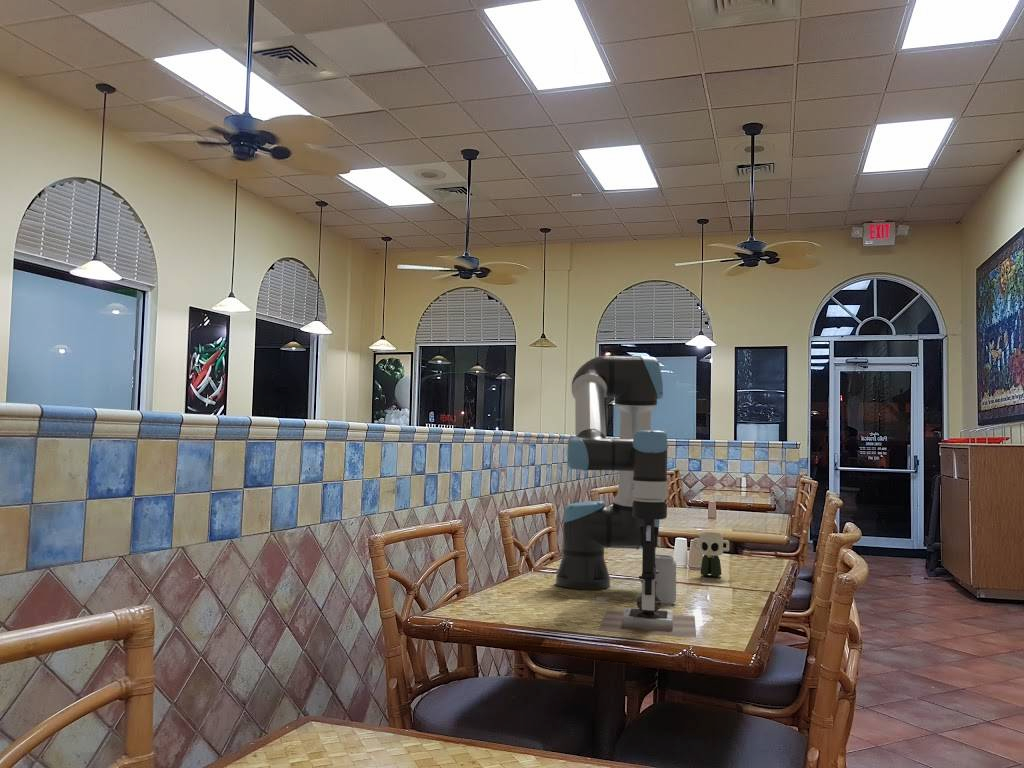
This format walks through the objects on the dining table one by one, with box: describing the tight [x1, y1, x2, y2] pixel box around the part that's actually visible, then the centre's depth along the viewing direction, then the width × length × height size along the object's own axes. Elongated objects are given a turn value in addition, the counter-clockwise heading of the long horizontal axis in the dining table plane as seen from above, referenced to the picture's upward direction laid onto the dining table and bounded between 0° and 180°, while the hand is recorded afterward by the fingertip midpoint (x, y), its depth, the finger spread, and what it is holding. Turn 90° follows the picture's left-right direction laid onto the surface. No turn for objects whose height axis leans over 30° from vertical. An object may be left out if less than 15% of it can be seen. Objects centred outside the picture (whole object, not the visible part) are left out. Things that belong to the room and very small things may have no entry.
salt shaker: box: [634, 567, 662, 618], centre depth 175 cm, size 6×6×12 cm
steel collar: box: [623, 606, 674, 630], centre depth 175 cm, size 10×10×2 cm
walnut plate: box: [598, 610, 697, 638], centre depth 175 cm, size 20×20×1 cm
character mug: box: [692, 531, 730, 578], centre depth 244 cm, size 11×7×13 cm, turn 68°
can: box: [655, 554, 677, 607], centre depth 202 cm, size 8×8×12 cm
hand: (648, 606), depth 175 cm, fingers closed on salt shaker, 6 cm apart
